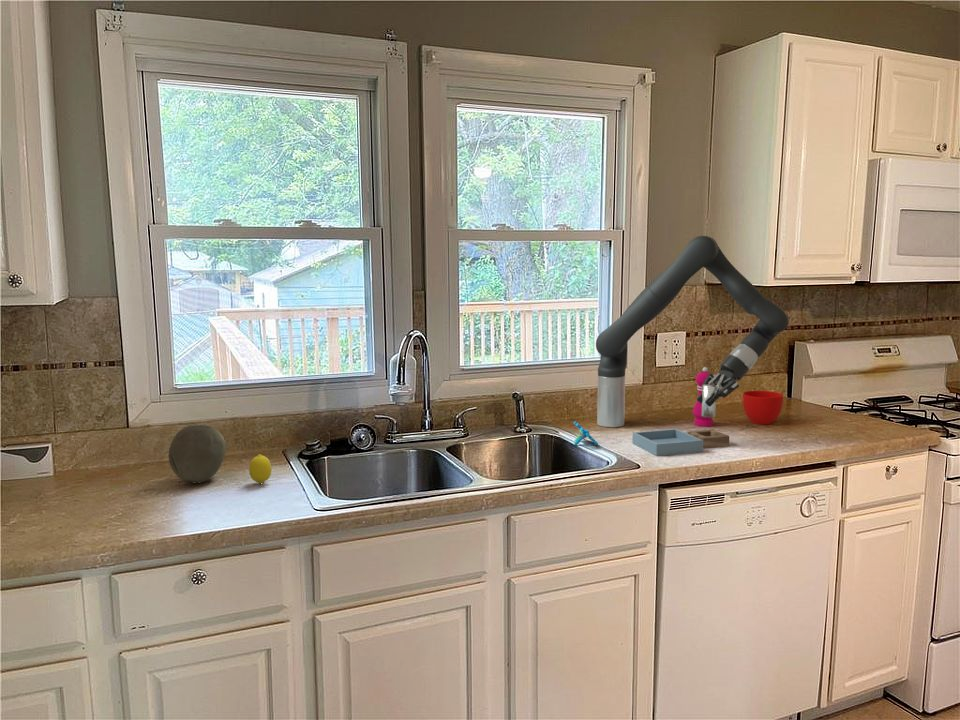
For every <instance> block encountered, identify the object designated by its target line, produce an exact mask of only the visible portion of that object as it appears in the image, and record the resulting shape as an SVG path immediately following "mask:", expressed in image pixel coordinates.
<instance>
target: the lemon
mask: <svg viewBox="0 0 960 720" xmlns="http://www.w3.org/2000/svg"><path fill="white" fill-rule="evenodd" d="M248 471H249V476H250V478H251V480H252V481H254V482H256V483H258V484H259V483H263V484H264V483H265V482H267V480H269V479H270V477H271V476H272V464H271V461H270V460H269V458H268V457H266V456H264V455H262V454H257V455H256V456H254V457H253V458H252V459H251V461H250V462H249V468H248Z"/></svg>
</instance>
